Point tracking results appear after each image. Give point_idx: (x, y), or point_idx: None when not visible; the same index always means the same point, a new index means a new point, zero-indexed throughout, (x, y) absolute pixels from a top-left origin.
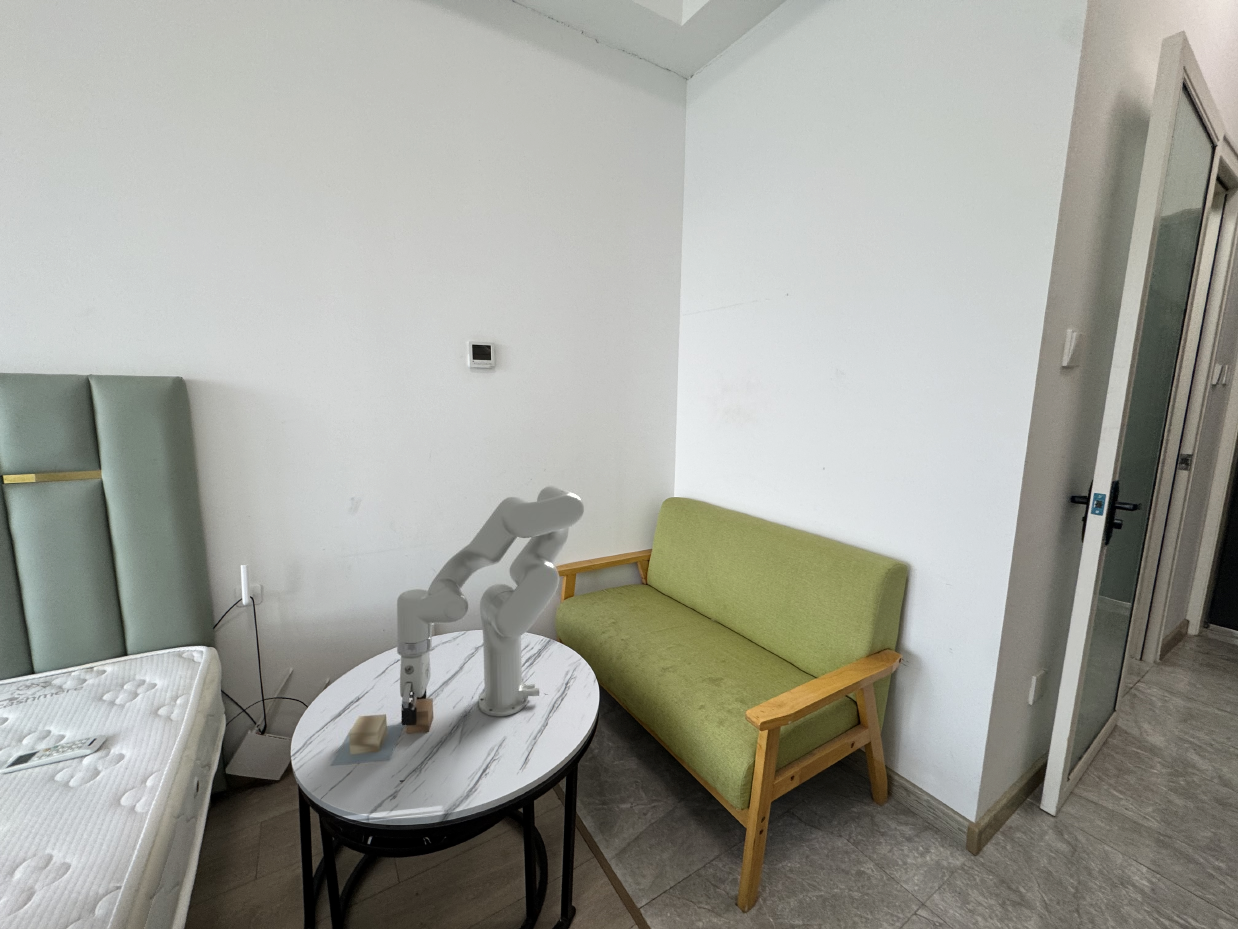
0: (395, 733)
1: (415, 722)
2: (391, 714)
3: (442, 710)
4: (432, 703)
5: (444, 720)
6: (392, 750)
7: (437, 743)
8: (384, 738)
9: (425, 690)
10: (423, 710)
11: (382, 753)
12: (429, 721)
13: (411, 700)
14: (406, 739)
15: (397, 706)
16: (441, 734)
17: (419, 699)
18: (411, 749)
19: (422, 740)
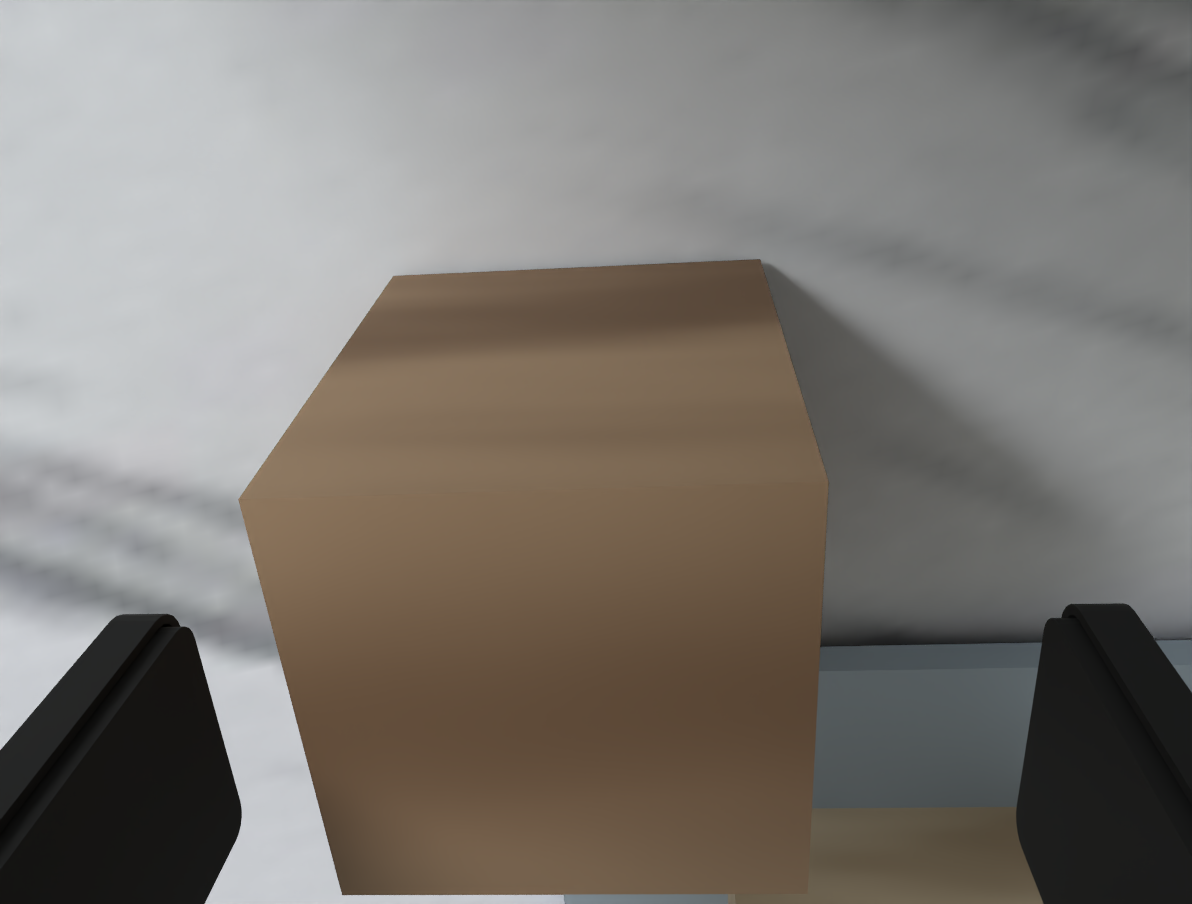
0: None
1: (1143, 637)
2: (273, 834)
3: (84, 191)
4: (316, 437)
5: (368, 77)
6: None
7: (1036, 40)
8: (849, 822)
9: (42, 768)
10: (788, 594)
11: None
12: (704, 337)
13: (362, 886)
14: None
15: None
16: (781, 29)
17: (317, 763)
18: (1072, 434)
19: (887, 328)
